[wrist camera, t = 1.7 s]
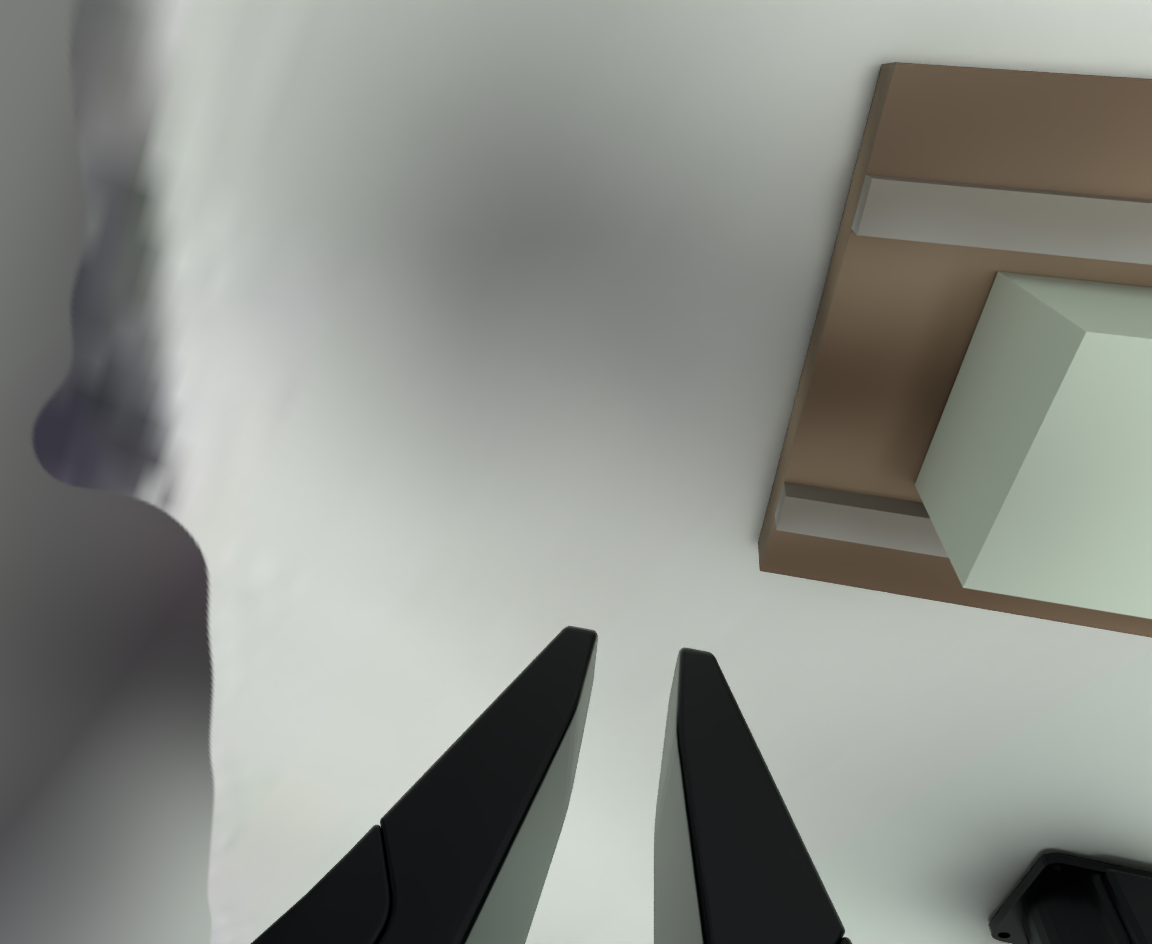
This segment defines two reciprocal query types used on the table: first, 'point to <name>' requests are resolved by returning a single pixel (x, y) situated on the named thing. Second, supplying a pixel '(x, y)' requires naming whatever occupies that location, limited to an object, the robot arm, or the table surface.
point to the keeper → (1050, 447)
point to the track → (946, 302)
